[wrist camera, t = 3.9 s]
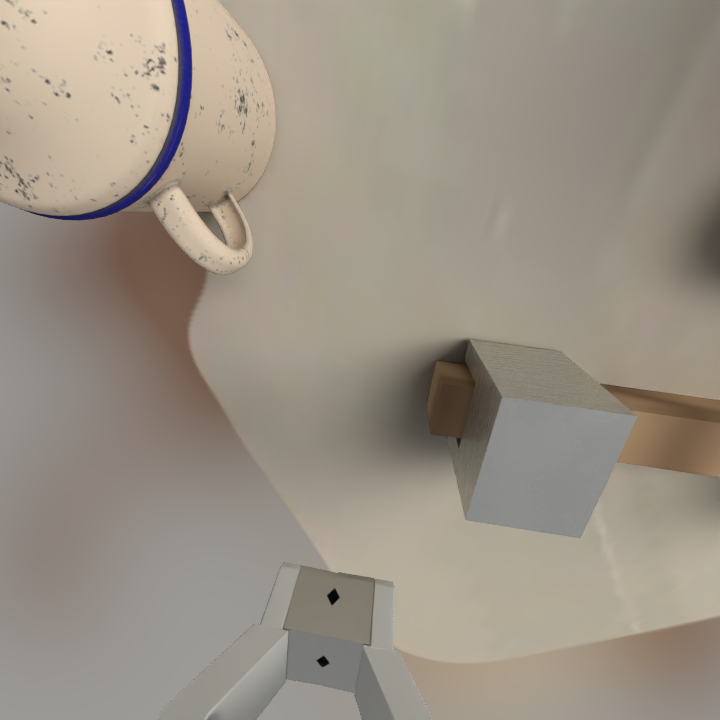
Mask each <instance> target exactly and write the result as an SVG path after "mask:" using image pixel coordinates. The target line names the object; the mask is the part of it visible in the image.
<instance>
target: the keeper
mask: <svg viewBox="0 0 720 720" xmlns="http://www.w3.org/2000/svg"><path fill="white" fill-rule="evenodd" d="M465 361H466V363H467V366H468V368H469V370H470V372H471V374H472V377H473V379H474V381H475V383H476V385H475V389H474V393H473V397H472V400H471V404H470V408H469V412H468V416H467V419H466V423H465V427H464V431H463V435H462V438H455V437H448V436H447V439H448V444H449V448H450V453H451V457H452V462H453V466H454V471H455V475H456V479H457V484H458V488H459V493H460V497H461V502H462V506H463V511H464V515H465V520H469V521H475V522H482V523H488V524H494V525H500V526H507V527H513V528H519V529H525V530H532V531H538V532H544V533H550V534H557V535H563V536H569V537H575V538H581V536H582V534H583V531H584V529H585V527H586V525H587V523H588V521H589V519H590V517H591V514H592V512H593V510H594V508H595V506H596V504H597V502H598V500H599V497H600V495H601V493H602V491H603V489H604V487H605V485H606V483H607V481H608V478H609V476H610V474H611V472H612V470H613V468H614V466H615V464H616V461H617V459H618V457H619V455H620V453H621V451H622V449H623V447H624V445H625V442H626V440H627V438H628V436H629V434H630V432H631V430H632V428H633V425H634V423H635V421H636V419H637V417H638V416H637V415H636V414H634V413H633V412H632V411H631V410H630V409H628V408H627V407H626V406H625V405H624V404H623V403H621V402H620V401H619V400H618V399H617V398H615V397H614V396H613V395H612V394H611V393H610V392H608V391H607V390H606V389H605V388H604V387H602V386H601V385H600V384H599V383H598V382H597V381H595V380H594V379H593V378H592V377H591V376H589V375H588V374H587V373H586V372H585V371H584V370H582V369H581V368H580V367H579V366H578V365H576V364H575V363H574V362H573V361H572V360H571V359H569V358H568V357H567V356H566V355H565V354H563V353H562V352H559V351H552V350H544V349H537V348H530V347H523V346H515V345H508V344H501V343H494V342H486V341H479V340H472V339H469V343H468V347H467V351H466V355H465Z"/></svg>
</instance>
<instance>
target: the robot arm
mask: <svg viewBox="0 0 720 720" xmlns="http://www.w3.org/2000/svg"><path fill="white" fill-rule="evenodd" d="M394 596H395V586H394V582H391V581H385V580H379V579H375V580H374V578H371V577H365V576H358V575H352V574H346V573H340V572H338V573H335V572H331V571H326V570H321V569H316V568H312V567H307V566H302V565H297V564H291V563H286V562H283V564H282V566H281V567H280V570H279V572H278V575H277V578H276V581H275V584H274V586H273V589H272V592H271V595H270V598H269V601H268V603H267V606H266V609H265V612H264V615H263V617H262V620H261V623H260V625H258V624H253V625H252V626H251V627H250V628H249V629H248V630H247V631H246V632H245V633H244V634H243V635H242V636H240V637H239V639H237V640H236V641H235V642H234V643H233V644H232V645H231V646H229V648H227V649H226V650H225V651H224V652H223V653H222V654H221V655H220V656H219V657H218V658H217V659H215V660H214V661H213V662H212V663H211V664H210V665H209V666H208V667H207V668H206V669H204V670H203V671H202V672H201V673H200V674H199V675H198V676H197V677H196V678H195V679H194V680H193V681H191V683H189V684H188V685H187V686H186V687H185V688H184V689H183V690H182V691H181V692H179V693H178V694H177V695H176V696H175V697H174V698H173V699H172V700H171V701H170V702H169V703H167V704H166V705H165V706H164V707H163V709H162V711H161V713H160V715H159V717H158V719H157V720H257V718H258V717H259V716H260V714H261V713H262V712H263V711H264V709H265V708H266V707H267V705H268V704H269V703H270V701H271V700H272V699H273V698H274V696H275V695H276V694H277V693H278V691H279V690H280V688H281V687H282V686H283V685H284V684H285V681H286V679H288V680H293V681H299V682H305V683H311V684H317V685H320V684H321V685H322V686H326V687H330V688H335V689H339V690H343V691H347V692H352V693H355V695H354V696H355V699H356V702H357V705H358V708H359V711H360V715H361V718H362V720H433V719H432V717H431V715H430V713H429V711H428V709H427V707H426V705H425V703H424V701H423V699H422V697H421V695H420V693H419V691H418V689H417V687H416V685H415V683H414V681H413V679H412V677H411V675H410V673H409V670H408V668H407V666H406V664H405V662H404V660H403V659H402V656H401V654H400V652H398V651H393V642H394Z"/></svg>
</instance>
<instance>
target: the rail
mask: <svg viewBox="0 0 720 720" xmlns="http://www.w3.org/2000/svg"><path fill="white" fill-rule="evenodd" d="M475 385H476V383H475V381H474V379H473V377H472V374H471V372H470V370H469V368H468V366H467V365H464V364H457V363H450V362H442V361H436V364H435V368H434V373H433V378H432V383H431V387H430V392H429V397H428V401H427V412H428V419H429V426H430V432H431V434H435V435H442V436H448V437H455V438H462V435H463V431H464V427H465V423H466V419H467V416H468V412H469V408H470V404H471V400H472V397H473V393H474V389H475ZM600 385H601V386H602V387H604V388H605V389H606V390H607V391H608V392H610V393H611V394H612V395H613V396H614V397H615V398H617V399H618V400H619V401H620V402H621V403H623V404H624V405H625V406H626V407H627V408H628V409H630V410H631V411H632V412H633V413H634V414H636V415H637V416H638V417H637V419H636V421H635V423H634V425H633V428H632V430H631V432H630V434H629V436H628V438H627V440H626V442H625V445H624V447H623V449H622V451H621V453H620V455H619V457H618V459H617V461H616V462H621V463H628V464H635V465H641V466H648V467H655V468H661V469H668V470H675V471H681V472H688V473H695V474H701V475H708V476H715V477H720V401H718V400H711V399H704V398H697V397H690V396H683V395H676V394H669V393H662V392H655V391H648V390H640V389H633V388H626V387H619V386H612V385H605V384H600Z"/></svg>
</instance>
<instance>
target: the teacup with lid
mask: <svg viewBox="0 0 720 720" xmlns="http://www.w3.org/2000/svg"><path fill="white" fill-rule="evenodd" d="M275 127H276V115H275V103H274V96H273V92H272V87H271V84H270V80H269V77H268V74H267V71H266V69H265V66H264V64H263V62H262V60H261V58H260V56H259V54H258V52H257V50H256V48H255V47H254V45H253V43H252V42H251V40H250V39H249V38H248V36H247V35H246V33H245V32H244V31H243V30H242V29H241V27H240V26H239V25H238V24H237V23H236V21H235V20H234V19H233V18H232V17H231V16H230V14H229V13H228V12H227V11H226V10H225V8H224V7H223V6H222V5H221V4H220V3H219V1H218V0H0V201H1V202H4V203H6V204H8V205H11V206H14V207H17V208H19V209H21V210H24V211H27V212H30V213H33V214H36V215H40V216H44V217H49V218H55V219H62V220H87V219H94V218H99V217H104V216H107V215H110V214H113V213H116V212H154V213H155V215H156V216H157V218H158V219H159V221H160V222H161V224H162V225H163V227H164V228H165V230H166V231H167V232H168V233H169V235H170V236H171V237H172V239H173V240H174V241H175V243H176V244H177V245H178V246H179V247H180V248H181V249H182V250H183V251H184V252H185V253H186V254H187V255H188V256H189V257H190V258H191V259H192V260H193V261H195V262H196V263H197V264H199V265H200V266H202V267H203V268H205V269H206V270H208V271H210V272H213V273H215V274H220V275H227V274H231V273H234V272H236V271H237V270H239V269H241V268H242V267H244V266H245V265H246V264H247V263H248V262H249V260H250V259H251V256H252V252H253V240H252V235H251V231H250V228H249V225H248V223H247V221H246V219H245V216H244V214H243V213H242V211H241V209H240V207H239V205H238V204H237V201H239V200H240V199H241V198H243V197H244V196H245V195H246V194H247V193H248V192H249V191H250V190H251V189H252V188H253V187H254V186H255V185H256V183H257V182H258V181H259V179H260V178H261V176H262V174H263V172H264V170H265V168H266V166H267V164H268V161H269V159H270V156H271V152H272V149H273V144H274V138H275ZM197 212H211V213H212V215H213V216H214V218H215V220H216V222H217V223H218V225H219V227H220V229H221V231H222V234H223V236H224V239H225V244H226V245H225V244H224V243H223V242H222V241H220V240H219V239H218V238H217V237H216V236H215V235H214V234H213V233H212V232H211V231H210V230H209V228H208V227H207V226H206V225H205V224H204V222H203V221H202V220H201V218H200V217H199V215H198V214H197Z"/></svg>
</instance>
